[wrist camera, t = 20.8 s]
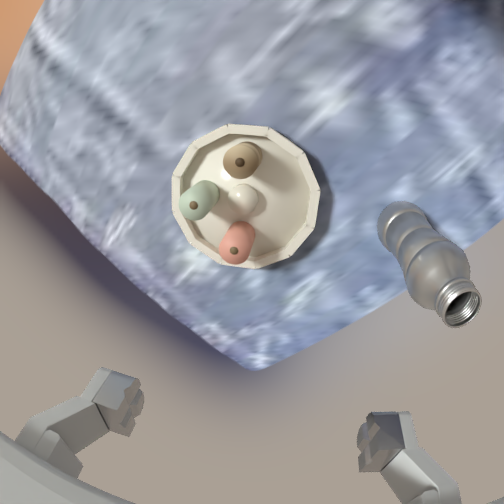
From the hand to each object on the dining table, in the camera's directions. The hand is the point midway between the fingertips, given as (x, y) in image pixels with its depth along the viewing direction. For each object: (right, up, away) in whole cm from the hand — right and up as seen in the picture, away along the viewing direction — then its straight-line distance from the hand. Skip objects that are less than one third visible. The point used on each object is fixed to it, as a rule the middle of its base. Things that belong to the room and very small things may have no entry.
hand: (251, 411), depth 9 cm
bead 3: (-1, +8, +30) cm, 31 cm away
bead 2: (-1, +17, +26) cm, 31 cm away
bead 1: (-6, +13, +28) cm, 32 cm away
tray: (-1, +13, +29) cm, 32 cm away
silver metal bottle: (+19, +10, +28) cm, 35 cm away
